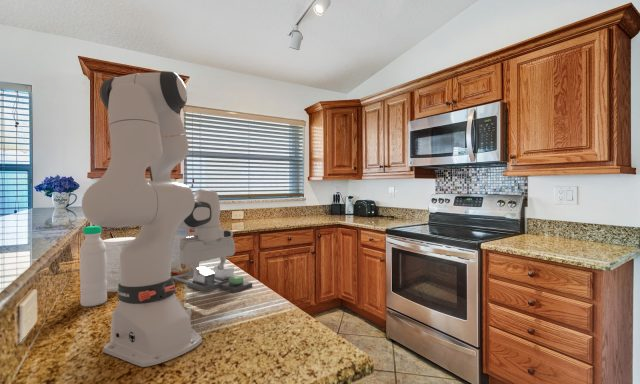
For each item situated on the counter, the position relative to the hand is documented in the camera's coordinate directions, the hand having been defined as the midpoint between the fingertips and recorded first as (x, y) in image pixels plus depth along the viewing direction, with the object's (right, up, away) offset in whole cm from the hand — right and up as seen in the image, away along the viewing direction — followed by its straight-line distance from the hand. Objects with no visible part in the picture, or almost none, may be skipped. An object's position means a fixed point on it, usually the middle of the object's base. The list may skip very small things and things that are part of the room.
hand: (209, 272), depth 113 cm
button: (+10, -6, -1) cm, 12 cm away
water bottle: (-33, -7, -12) cm, 36 cm away
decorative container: (-35, -7, +4) cm, 36 cm away
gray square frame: (-10, -6, +11) cm, 16 cm away
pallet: (+1, -6, +3) cm, 7 cm away
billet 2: (+3, -5, +6) cm, 9 cm away
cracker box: (-19, -7, +22) cm, 30 cm away
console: (+10, -6, -1) cm, 12 cm away
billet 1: (-3, -5, +1) cm, 5 cm away
